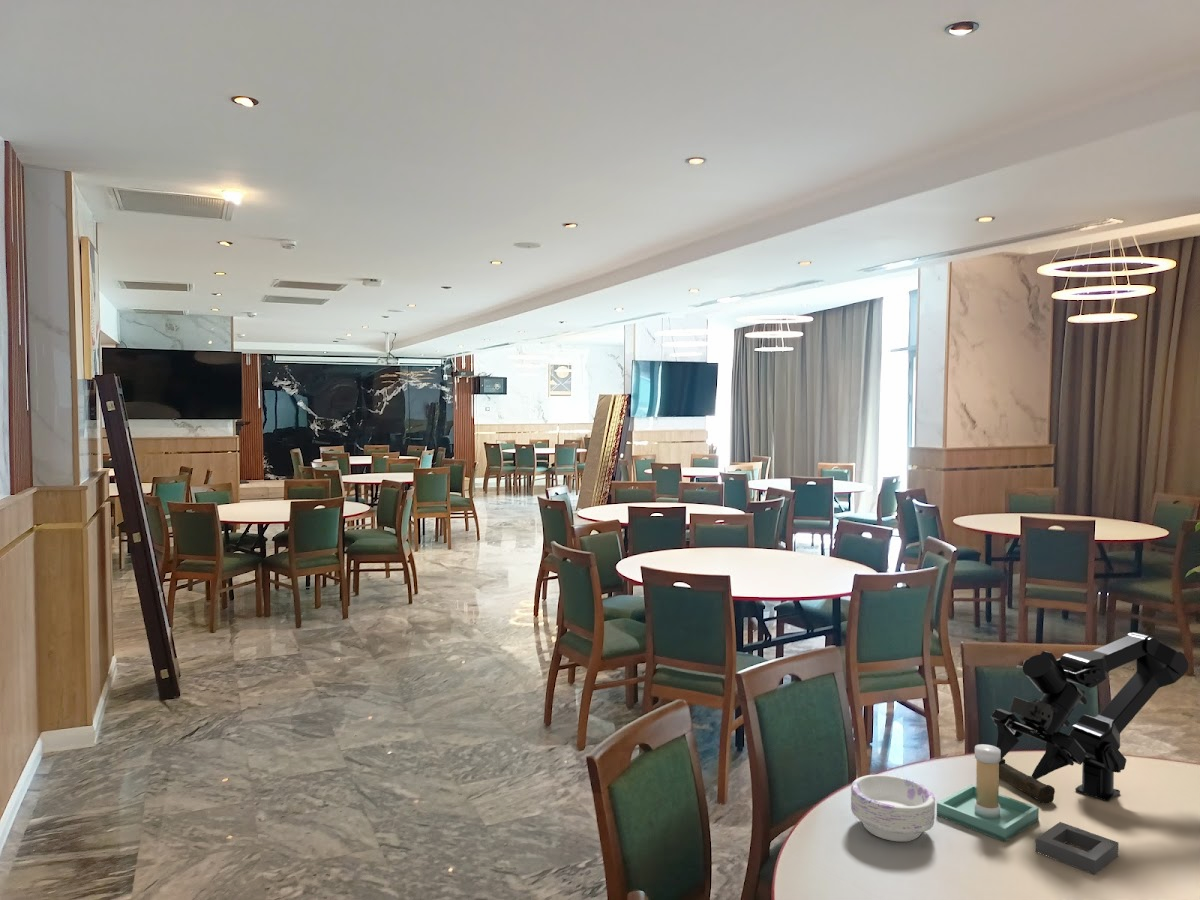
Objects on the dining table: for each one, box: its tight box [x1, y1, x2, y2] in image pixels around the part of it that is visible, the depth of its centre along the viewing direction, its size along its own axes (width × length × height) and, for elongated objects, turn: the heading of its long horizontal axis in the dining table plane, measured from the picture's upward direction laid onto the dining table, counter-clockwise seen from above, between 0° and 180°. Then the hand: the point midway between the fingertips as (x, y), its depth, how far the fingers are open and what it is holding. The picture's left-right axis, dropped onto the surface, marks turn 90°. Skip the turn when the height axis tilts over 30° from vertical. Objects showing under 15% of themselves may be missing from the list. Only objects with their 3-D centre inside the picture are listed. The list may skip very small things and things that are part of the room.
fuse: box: [974, 743, 1001, 819], centre depth 165 cm, size 5×5×13 cm
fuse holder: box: [1035, 821, 1119, 876], centre depth 152 cm, size 10×10×2 cm
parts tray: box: [936, 784, 1040, 843], centre depth 166 cm, size 14×14×2 cm
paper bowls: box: [850, 774, 936, 842], centre depth 161 cm, size 15×15×8 cm
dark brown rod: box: [999, 757, 1056, 805], centre depth 181 cm, size 19×4×5 cm, turn 14°
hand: (1014, 768), depth 168 cm, fingers open, 9 cm apart
